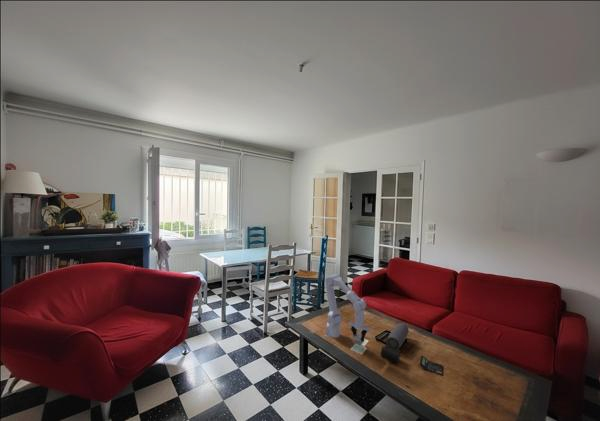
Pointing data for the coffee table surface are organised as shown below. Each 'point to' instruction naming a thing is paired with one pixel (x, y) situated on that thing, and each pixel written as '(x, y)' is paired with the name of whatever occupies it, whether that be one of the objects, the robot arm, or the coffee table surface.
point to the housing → (358, 338)
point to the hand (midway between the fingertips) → (358, 339)
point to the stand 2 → (358, 348)
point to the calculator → (431, 366)
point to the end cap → (390, 354)
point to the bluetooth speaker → (397, 336)
